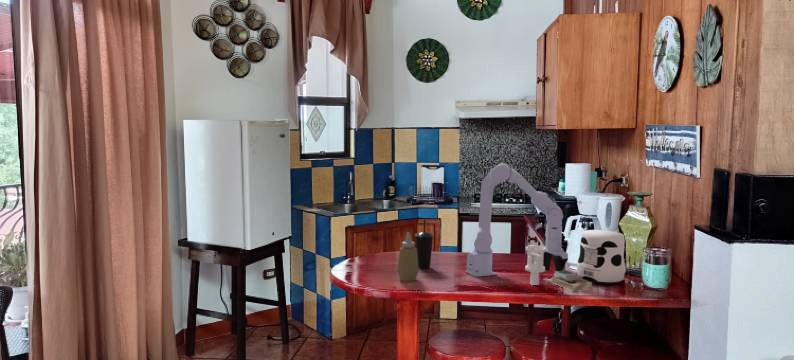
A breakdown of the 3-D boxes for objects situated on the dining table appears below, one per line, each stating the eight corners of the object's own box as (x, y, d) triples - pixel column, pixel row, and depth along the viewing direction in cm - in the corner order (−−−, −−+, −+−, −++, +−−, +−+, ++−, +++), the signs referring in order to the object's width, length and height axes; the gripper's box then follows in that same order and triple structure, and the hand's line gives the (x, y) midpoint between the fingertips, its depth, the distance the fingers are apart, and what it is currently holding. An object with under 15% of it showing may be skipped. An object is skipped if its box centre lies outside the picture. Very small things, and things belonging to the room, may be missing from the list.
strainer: (520, 283, 207) (521, 243, 205) (534, 280, 210) (536, 241, 208) (533, 288, 201) (535, 247, 199) (548, 285, 204) (550, 245, 202)
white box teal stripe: (566, 284, 202) (566, 275, 202) (553, 279, 208) (554, 270, 208) (577, 283, 204) (577, 273, 203) (564, 278, 210) (565, 269, 210)
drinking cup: (411, 268, 226) (412, 219, 224) (418, 264, 233) (418, 216, 231) (429, 270, 223) (430, 221, 221) (435, 266, 230) (436, 218, 228)
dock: (571, 294, 197) (571, 285, 196) (541, 281, 212) (541, 272, 212) (591, 291, 200) (592, 282, 200) (560, 278, 216) (561, 270, 215)
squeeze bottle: (403, 283, 205) (404, 235, 203) (393, 278, 212) (393, 231, 210) (422, 281, 208) (423, 233, 206) (412, 275, 215) (412, 229, 214)
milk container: (620, 275, 218) (622, 230, 216) (629, 288, 201) (631, 239, 199) (574, 273, 221) (575, 228, 220) (578, 285, 205) (581, 237, 203)
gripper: (575, 241, 207) (573, 276, 208) (550, 233, 220) (549, 267, 221) (559, 242, 204) (557, 278, 205) (535, 234, 217) (534, 268, 219)
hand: (552, 273), depth 213 cm, fingers open, 7 cm apart
